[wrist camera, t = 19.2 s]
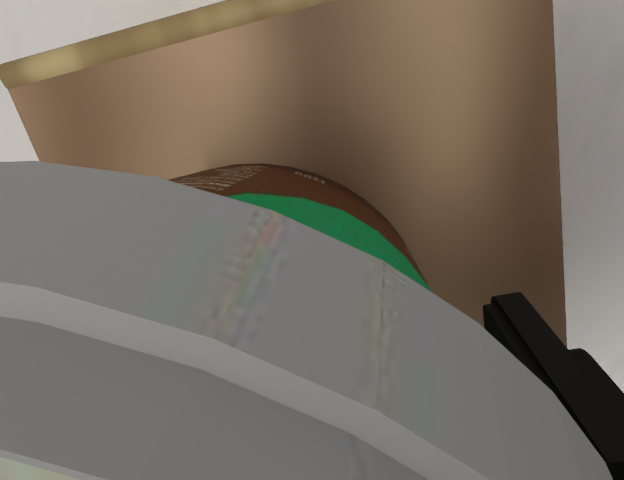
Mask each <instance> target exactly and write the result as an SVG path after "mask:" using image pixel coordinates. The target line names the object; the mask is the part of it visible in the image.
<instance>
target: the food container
mask: <svg viewBox="0 0 624 480" xmlns="http://www.w3.org/2000/svg"><path fill="white" fill-rule="evenodd" d="M0 480H613V478H612V476H611V474H610V472H609V470H608V467H607V465H606V463H605V461H604V460H603V459H602V457H601V456H600V455H599V453H598V452H597V451H596V449H595V448H594V446H593V445H592V444H591V442H590V441H589V440H588V438H587V437H586V436H585V434H584V433H583V432H582V430H581V429H580V428H579V426H578V425H577V424H576V422H575V421H574V420H573V418H572V417H571V416H570V414H569V413H568V411H567V410H566V409H565V407H564V406H563V405H562V403H561V402H560V401H559V399H558V398H557V397H556V395H555V394H554V393H553V391H552V390H550V389H549V388H548V387H547V386H546V385H545V384H544V383H543V382H542V381H541V380H540V379H539V378H537V377H536V376H535V375H534V374H533V373H532V372H531V371H530V370H529V369H528V368H527V367H526V366H524V365H523V364H522V363H521V362H520V361H519V360H518V359H517V358H516V357H515V356H514V355H513V354H511V353H510V352H509V351H508V350H507V349H506V348H505V347H504V346H503V345H502V344H501V343H500V342H498V341H497V340H496V339H495V338H494V337H493V336H492V335H491V334H490V333H489V332H488V331H486V330H485V329H484V328H483V327H482V326H481V325H480V324H479V323H478V322H476V321H475V320H473V319H472V318H470V317H469V316H467V315H465V314H464V313H462V312H461V311H459V310H458V309H456V308H455V307H453V306H452V305H450V304H449V303H447V302H446V301H444V300H443V299H441V298H440V297H438V296H436V295H435V294H433V293H432V292H431V290H430V288H429V286H428V284H427V283H426V281H425V279H424V277H423V275H422V273H421V272H420V270H419V268H418V266H417V264H416V263H415V261H414V259H413V257H412V255H411V254H410V252H409V250H408V248H407V246H406V244H405V243H404V241H403V239H402V238H401V236H400V235H399V234H398V233H397V231H396V230H395V229H394V227H393V226H392V225H391V224H390V222H389V221H388V220H387V219H386V218H385V217H384V216H383V215H382V214H381V213H380V212H379V211H378V210H377V209H375V208H374V207H373V206H372V205H371V204H370V203H369V202H368V201H367V200H365V199H363V198H362V197H360V196H359V195H357V194H356V193H354V192H353V191H351V190H350V189H348V188H347V187H345V186H343V185H341V184H339V183H337V182H334V181H332V180H330V179H328V178H326V177H323V176H321V175H319V174H316V173H312V172H309V171H305V170H301V169H298V168H294V167H290V166H281V165H273V164H264V163H256V164H233V165H229V166H224V167H219V168H214V169H209V170H204V171H200V172H196V173H193V174H189V175H185V176H181V177H177V178H173V179H169V180H165V179H162V178H158V177H155V176H148V175H140V174H132V173H125V172H117V171H109V170H101V169H94V168H86V167H78V166H70V165H63V164H55V163H47V162H40V161H21V162H0Z"/></svg>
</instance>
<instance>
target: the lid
mask: <svg viewBox="0 0 624 480" xmlns="http://www.w3.org/2000/svg"><path fill="white" fill-rule="evenodd" d="M0 79H1V81H2V83H3V84H4V86H5V87H6V88H7V89H8V91H9V93H10V95H11V97H12V100H13V102H14V104H15V106H16V109H17V111H18V113H19V116H20V118H21V120H22V122H23V125H24V127H25V129H26V131H27V134H28V136H29V138H30V140H31V143H32V145H33V147H34V149H35V152H36V154H37V156H38V159H39V161H40V162H47V163H55V164H63V165H70V166H78V167H86V168H94V169H101V170H109V171H117V172H125V173H132V174H140V175H148V176H155V177H158V178H162V179H165V180H169V179H173V178H177V177H181V176H185V175H189V174H193V173H196V172H200V171H204V170H209V169H214V168H219V167H224V166H229V165H233V164H256V163H264V164H273V165H281V166H290V167H294V168H298V169H301V170H305V171H309V172H312V173H316V174H319V175H321V176H323V177H326V178H328V179H330V180H332V181H334V182H337V183H339V184H341V185H343V186H345V187H347V188H348V189H350V190H351V191H353V192H354V193H356V194H357V195H359V196H360V197H362V198H363V199H365V200H367V201H368V202H369V203H370V204H371V205H372V206H373V207H374V208H375V209H377V210H378V211H379V212H380V213H381V214H382V215H383V216H384V217H385V218H386V219H387V220H388V221H389V222H390V224H391V225H392V226H393V227H394V229H395V230H396V231H397V233H398V234H399V235H400V236H401V238H402V239H403V241H404V243H405V244H406V246H407V248H408V250H409V252H410V254H411V255H412V257H413V259H414V261H415V263H416V264H417V266H418V268H419V270H420V272H421V273H422V275H423V277H424V279H425V281H426V283H427V284H428V286H429V288H430V290H431V292H432V293H433V294H435V295H436V296H438V297H440V298H441V299H443V300H444V301H446V302H447V303H449V304H450V305H452V306H453V307H455V308H456V309H458V310H459V311H461V312H462V313H464V314H465V315H467V316H469V317H470V318H472V319H473V320H475V321H476V322H478V323H479V324H480V325H481V326H482V327H483V328H484V318H483V305H486V304H491V297H492V296H497V295H503V294H509V293H514V292H521V293H522V294H523V295H524V296H525V297H526V298H527V300H528V301H529V302H530V303H531V305H532V306H533V307H534V308H535V310H536V311H537V312H538V313H539V314H540V316H541V317H542V318H543V319H544V321H545V322H546V323H547V324H548V325H549V327H550V328H551V329H552V330H553V332H554V333H555V334H556V335H557V336H558V338H559V339H560V340H561V341H562V343H563V344H564V345H565V346H566V348H567V338H566V314H565V290H564V266H563V242H562V218H561V194H560V170H559V146H558V122H557V98H556V74H555V50H554V26H553V2H552V0H226V1H222V2H219V3H215V4H211V5H208V6H204V7H201V8H197V9H194V10H190V11H187V12H183V13H180V14H176V15H173V16H169V17H166V18H162V19H158V20H155V21H151V22H148V23H144V24H141V25H137V26H134V27H130V28H127V29H123V30H120V31H116V32H113V33H109V34H106V35H102V36H98V37H95V38H91V39H88V40H84V41H81V42H77V43H74V44H70V45H67V46H63V47H60V48H56V49H53V50H49V51H46V52H42V53H38V54H35V55H31V56H28V57H24V58H21V59H17V60H14V61H10V62H7V63H3V64H1V65H0Z"/></svg>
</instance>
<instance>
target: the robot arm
mask: <svg viewBox="0 0 624 480" xmlns="http://www.w3.org/2000/svg"><path fill="white" fill-rule="evenodd" d="M483 318H484V329H485V330H486V331H488V332H489V333H490V334H491V335H492V336H493V337H494V338H495V339H496V340H497V341H498V342H500V343H501V344H502V345H503V346H504V347H505V348H506V349H507V350H508V351H509V352H510V353H511V354H513V355H514V356H515V357H516V358H517V359H518V360H519V361H520V362H521V363H522V364H523V365H524V366H526V367H527V368H528V369H529V370H530V371H531V372H532V373H533V374H534V375H535V376H536V377H537V378H539V379H540V380H541V381H542V382H543V383H544V384H545V385H546V386H547V387H548V388H549V389H550V390H552V391H553V393H554V394H555V395H556V397H557V398H558V399H559V401H560V402H561V403H562V405H563V406H564V407H565V409H566V410H567V411H568V413H569V414H570V416H571V417H572V418H573V420H574V421H575V422H576V424H577V425H578V426H579V428H580V429H581V430H582V432H583V433H584V434H585V436H586V437H587V438H588V440H589V441H590V442H591V444H592V445H593V446H594V448H595V449H596V451H597V452H598V453H599V455H600V456H601V457H602V459H603V460H604V461H605V463H606V465H607V467H608V470H609V472H610V474H611V476H612V478H613V480H624V393H623V392H622V391H621V390H620V389H619V387H618V386H617V385H616V384H615V383H614V382H613V381H612V379H611V378H610V377H609V376H608V375H607V374H606V373H605V371H604V370H603V369H602V368H601V367H600V366H599V365H598V363H597V362H596V361H595V360H594V359H593V358H592V357H591V355H589V354H588V353H587V352H586V351H585V350H583V349H580V348H578V349H572V350H568V349H567V348H566V346H565V345H564V344H563V343H562V341H561V340H560V339H559V338H558V336H557V335H556V334H555V333H554V332H553V330H552V329H551V328H550V327H549V325H548V324H547V323H546V322H545V321H544V319H543V318H542V317H541V316H540V314H539V313H538V312H537V311H536V310H535V308H534V307H533V306H532V305H531V303H530V302H529V301H528V300H527V298H526V297H525V296H524V295H523V294H522V293H521V292H514V293H509V294H503V295H497V296H492V297H491V304H486V305H483Z"/></svg>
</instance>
